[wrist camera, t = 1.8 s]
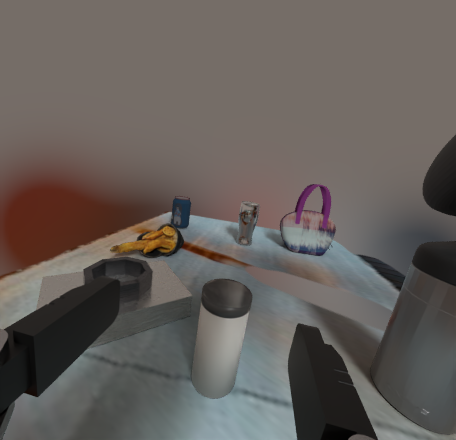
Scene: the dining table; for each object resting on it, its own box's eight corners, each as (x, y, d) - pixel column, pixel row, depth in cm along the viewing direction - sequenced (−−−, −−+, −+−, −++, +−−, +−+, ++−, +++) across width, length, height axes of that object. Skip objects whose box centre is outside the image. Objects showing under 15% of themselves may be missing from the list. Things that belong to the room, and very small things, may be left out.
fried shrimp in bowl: (196, 239, 60) (145, 230, 44) (174, 268, 62) (118, 268, 46) (179, 220, 64) (128, 205, 49) (159, 247, 66) (103, 241, 51)
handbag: (325, 249, 85) (342, 188, 80) (336, 259, 76) (356, 190, 70) (273, 241, 85) (286, 179, 80) (277, 250, 76) (293, 180, 70)
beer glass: (232, 238, 80) (239, 200, 77) (250, 240, 82) (256, 202, 78) (236, 245, 74) (244, 203, 70) (255, 246, 75) (263, 206, 72)
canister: (219, 349, 30) (232, 275, 28) (244, 383, 26) (262, 299, 23) (183, 366, 27) (193, 284, 24) (205, 409, 23) (220, 314, 20)
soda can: (186, 224, 90) (189, 196, 87) (189, 229, 83) (193, 200, 81) (169, 223, 87) (172, 195, 84) (172, 229, 81) (174, 198, 78)
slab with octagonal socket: (162, 276, 47) (165, 247, 45) (189, 315, 36) (194, 279, 35) (44, 298, 35) (41, 260, 33) (32, 366, 24) (28, 315, 23)
